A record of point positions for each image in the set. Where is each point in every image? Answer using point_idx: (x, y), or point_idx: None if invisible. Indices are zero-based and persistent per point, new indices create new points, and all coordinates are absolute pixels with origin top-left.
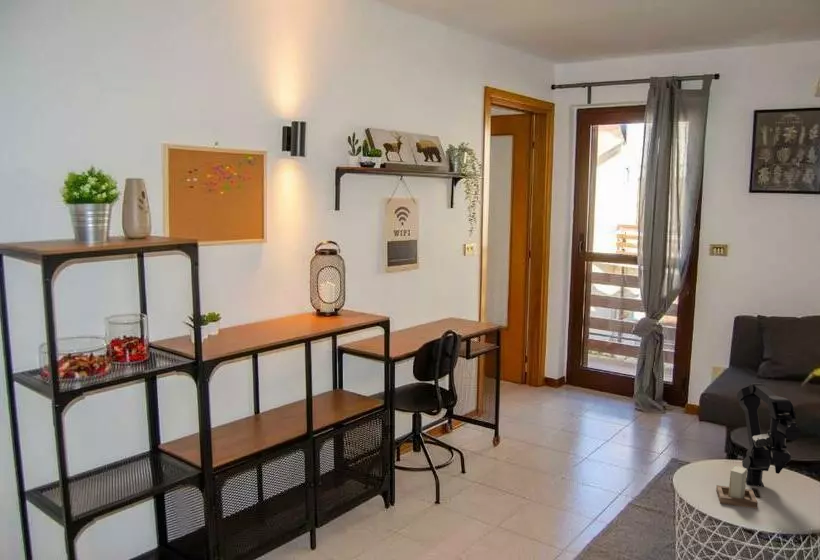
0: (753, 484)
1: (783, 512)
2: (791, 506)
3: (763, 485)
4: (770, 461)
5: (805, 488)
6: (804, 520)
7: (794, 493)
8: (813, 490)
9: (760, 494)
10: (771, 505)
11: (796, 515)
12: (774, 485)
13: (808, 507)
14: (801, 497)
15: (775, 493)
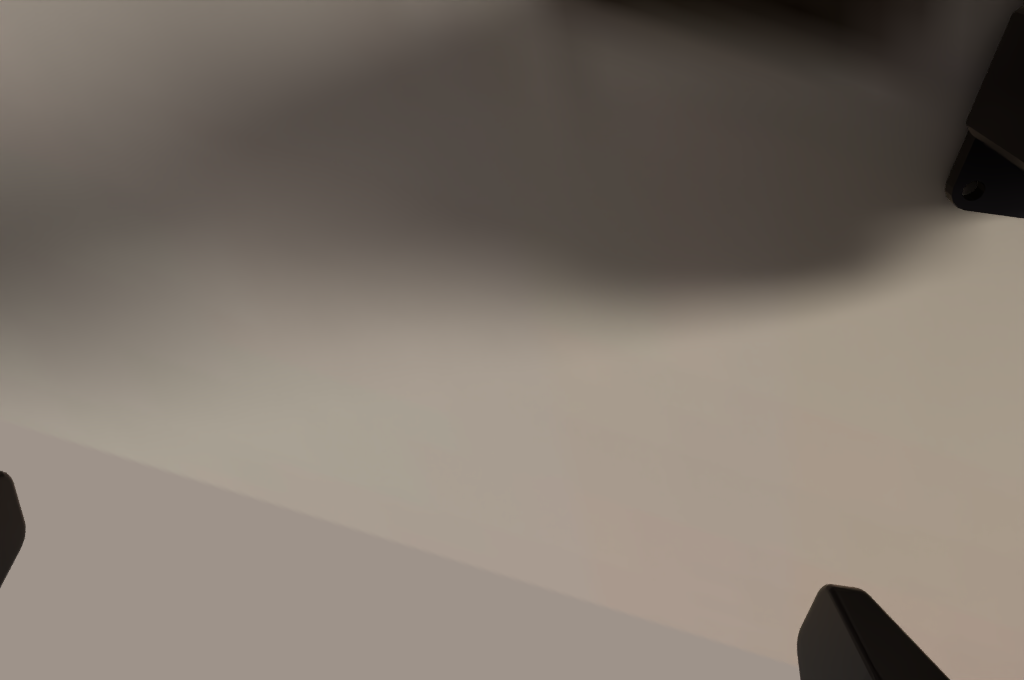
0: (1007, 28)
1: (119, 185)
2: (351, 345)
3: (965, 200)
4: (868, 633)
5: None
6: (9, 353)
7: (738, 497)
8: None
9: (667, 44)
10: (291, 90)
11: (105, 314)
12: (988, 362)
13: (384, 501)
14: (635, 525)
15: (723, 287)
